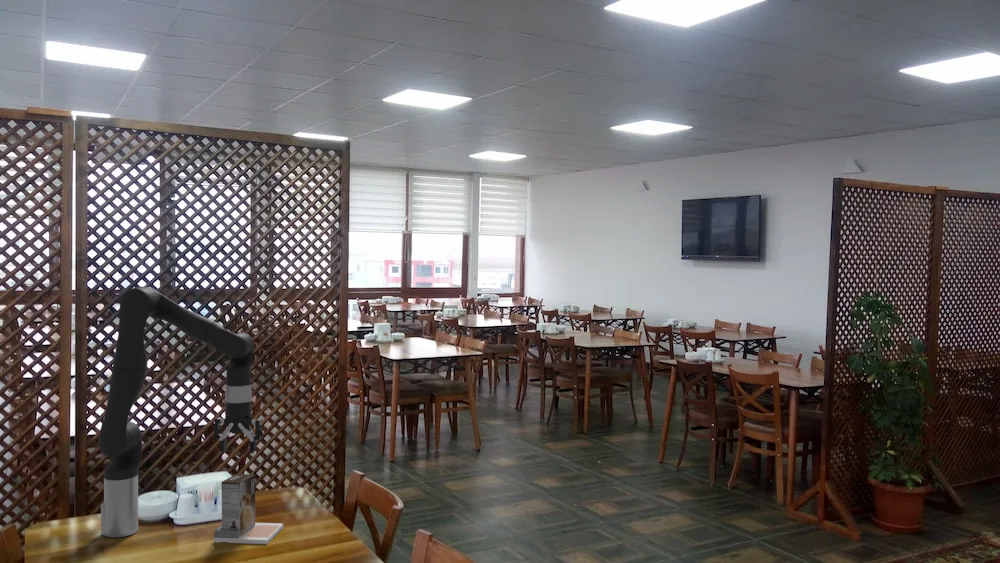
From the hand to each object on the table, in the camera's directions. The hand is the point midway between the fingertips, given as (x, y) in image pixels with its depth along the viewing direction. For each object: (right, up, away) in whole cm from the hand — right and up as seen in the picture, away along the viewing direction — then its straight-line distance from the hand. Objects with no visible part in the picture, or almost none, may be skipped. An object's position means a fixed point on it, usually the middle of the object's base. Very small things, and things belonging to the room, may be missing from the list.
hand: (238, 452), depth 228 cm
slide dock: (+3, -25, 0) cm, 25 cm away
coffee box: (0, -24, +1) cm, 24 cm away
